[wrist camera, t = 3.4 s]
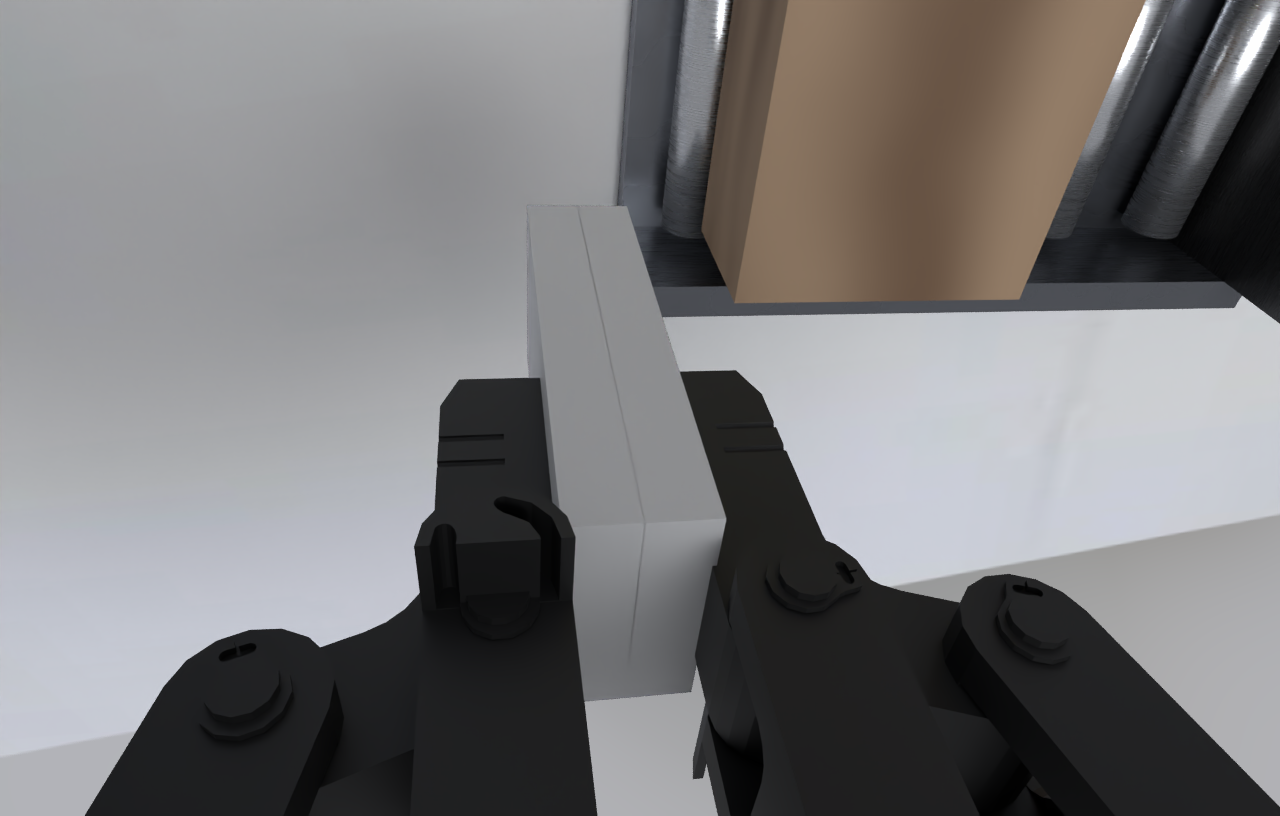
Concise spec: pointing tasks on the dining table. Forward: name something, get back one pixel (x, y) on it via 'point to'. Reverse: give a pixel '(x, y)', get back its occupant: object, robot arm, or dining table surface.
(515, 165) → the dining table surface
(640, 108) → the roller bed
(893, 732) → the robot arm
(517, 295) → the dining table surface
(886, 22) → the slab
